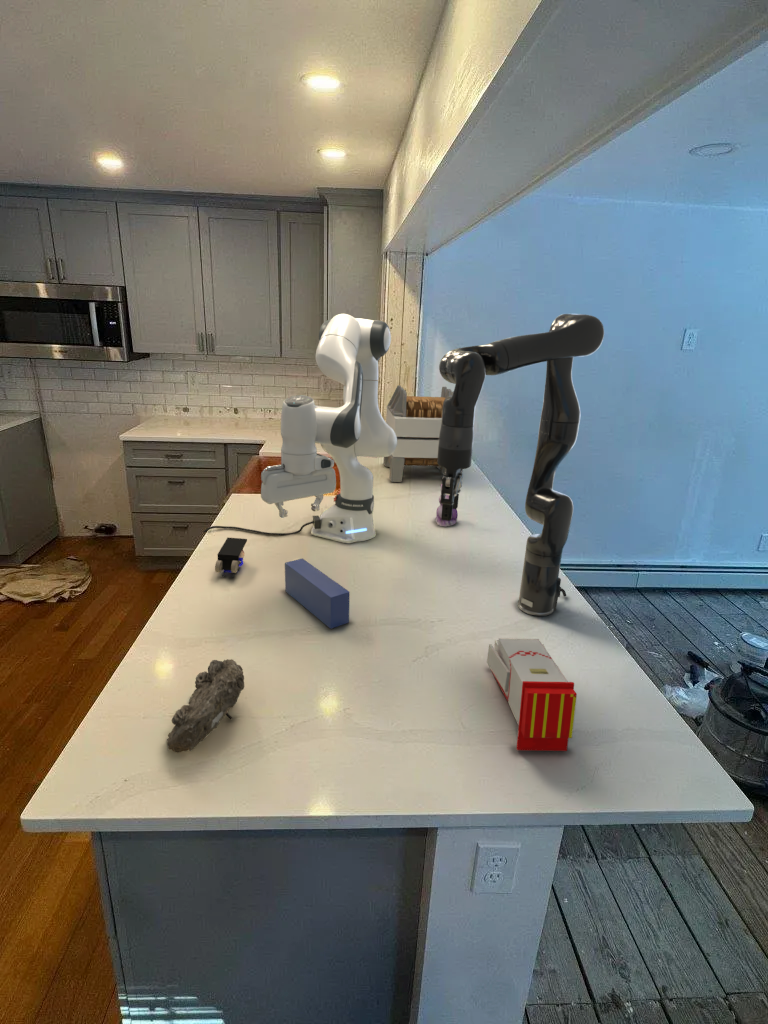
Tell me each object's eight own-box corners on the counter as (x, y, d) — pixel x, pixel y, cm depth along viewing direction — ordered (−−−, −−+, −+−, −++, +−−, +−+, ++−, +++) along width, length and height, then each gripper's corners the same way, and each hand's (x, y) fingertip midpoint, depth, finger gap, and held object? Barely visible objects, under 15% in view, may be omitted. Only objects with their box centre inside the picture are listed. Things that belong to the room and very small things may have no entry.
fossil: (192, 660, 117) (244, 628, 112) (224, 691, 120) (276, 661, 115) (142, 746, 98) (202, 712, 93) (182, 779, 101) (242, 748, 96)
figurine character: (238, 584, 162) (249, 557, 175) (236, 562, 158) (247, 536, 172) (215, 584, 161) (227, 556, 175) (212, 561, 158) (225, 535, 171)
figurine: (442, 528, 206) (446, 489, 201) (428, 519, 214) (431, 481, 209) (464, 525, 210) (468, 486, 205) (449, 516, 218) (452, 479, 213)
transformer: (382, 463, 289) (386, 382, 275) (445, 464, 293) (451, 384, 279) (390, 482, 257) (394, 392, 243) (460, 483, 261) (468, 394, 247)
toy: (536, 621, 128) (586, 689, 98) (531, 676, 131) (578, 758, 101) (482, 620, 127) (517, 688, 98) (478, 675, 130) (511, 757, 101)
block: (285, 591, 156) (284, 562, 154) (302, 586, 160) (302, 558, 157) (330, 629, 139) (330, 597, 136) (348, 622, 142) (349, 591, 140)
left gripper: (267, 470, 134) (268, 524, 139) (339, 460, 146) (338, 510, 151) (255, 464, 139) (257, 517, 144) (326, 454, 151) (326, 503, 155)
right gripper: (468, 453, 117) (461, 526, 123) (476, 440, 130) (470, 506, 135) (432, 449, 119) (427, 522, 124) (444, 436, 132) (439, 502, 137)
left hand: (299, 513), depth 147 cm, fingers open, 8 cm apart
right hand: (449, 513), depth 130 cm, fingers open, 8 cm apart
